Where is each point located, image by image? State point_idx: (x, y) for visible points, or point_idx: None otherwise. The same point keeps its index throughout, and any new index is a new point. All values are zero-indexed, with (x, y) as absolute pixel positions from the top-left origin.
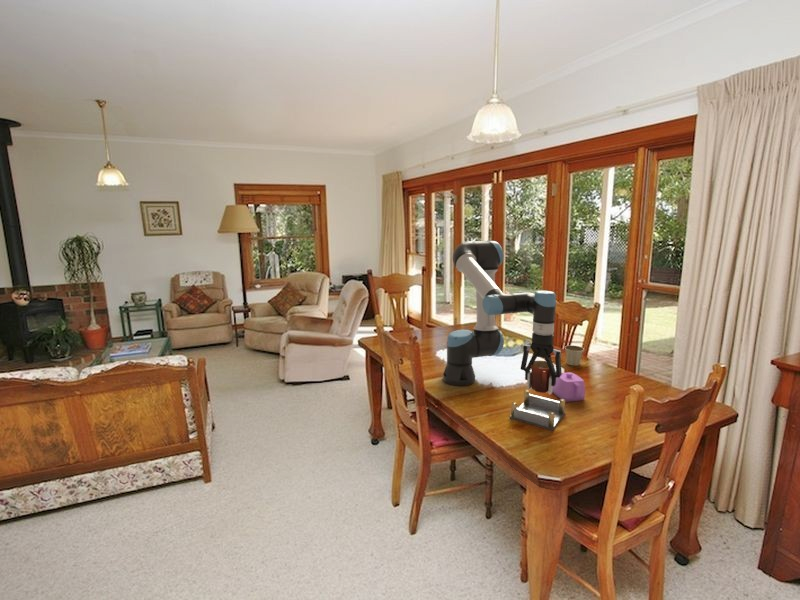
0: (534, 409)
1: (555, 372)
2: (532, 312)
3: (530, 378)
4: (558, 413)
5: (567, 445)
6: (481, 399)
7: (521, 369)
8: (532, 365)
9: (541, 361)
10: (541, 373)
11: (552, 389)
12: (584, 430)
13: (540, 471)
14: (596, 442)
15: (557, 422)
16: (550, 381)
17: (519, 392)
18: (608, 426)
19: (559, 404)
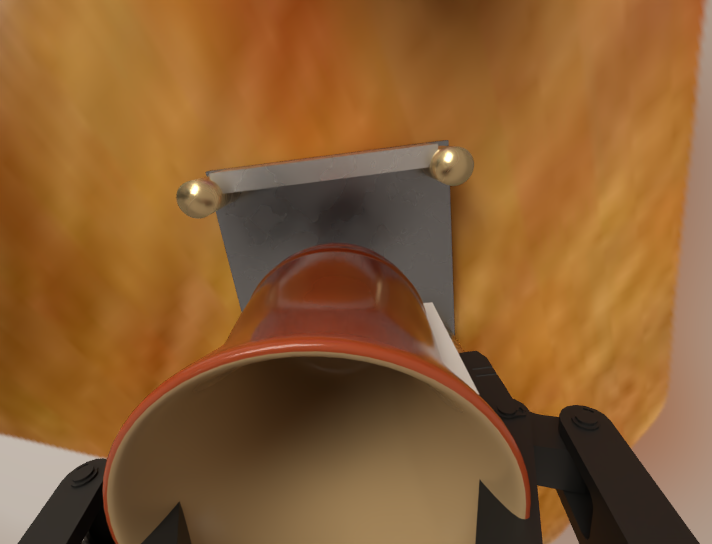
0: (306, 240)
1: (532, 453)
2: None
3: None
4: (426, 195)
5: (532, 401)
6: (28, 294)
7: None
8: (180, 506)
9: (208, 377)
10: (382, 537)
11: (437, 316)
12: (570, 250)
13: None
14: (629, 314)
15: (451, 282)
16: None
17: (81, 32)
18: (675, 124)
19: (430, 174)
